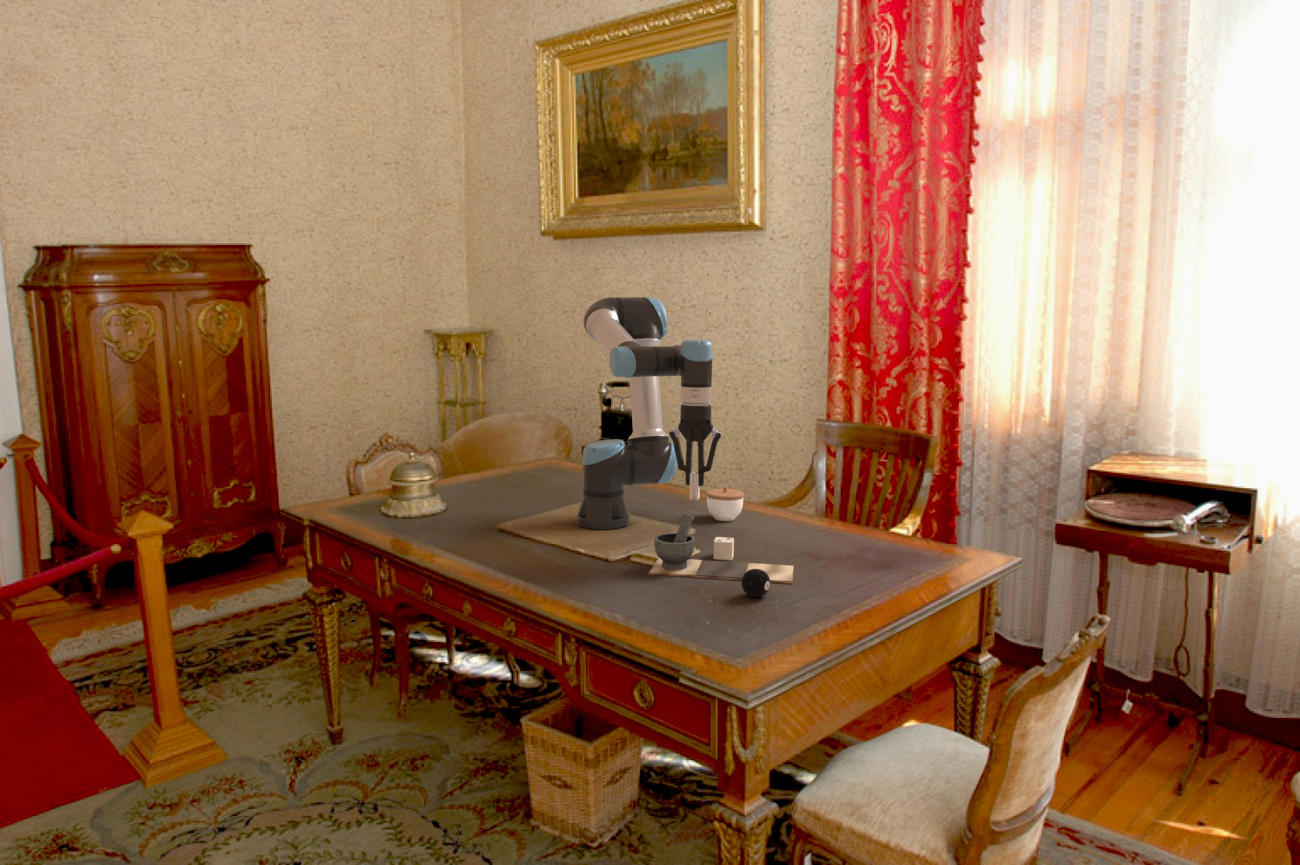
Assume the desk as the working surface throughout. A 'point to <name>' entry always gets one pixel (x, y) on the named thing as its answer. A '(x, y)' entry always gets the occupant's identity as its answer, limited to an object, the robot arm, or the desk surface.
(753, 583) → the billiard ball
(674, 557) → the mortar and pestle
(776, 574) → the board
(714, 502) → the lidded jar
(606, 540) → the desk surface
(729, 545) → the cream white block
